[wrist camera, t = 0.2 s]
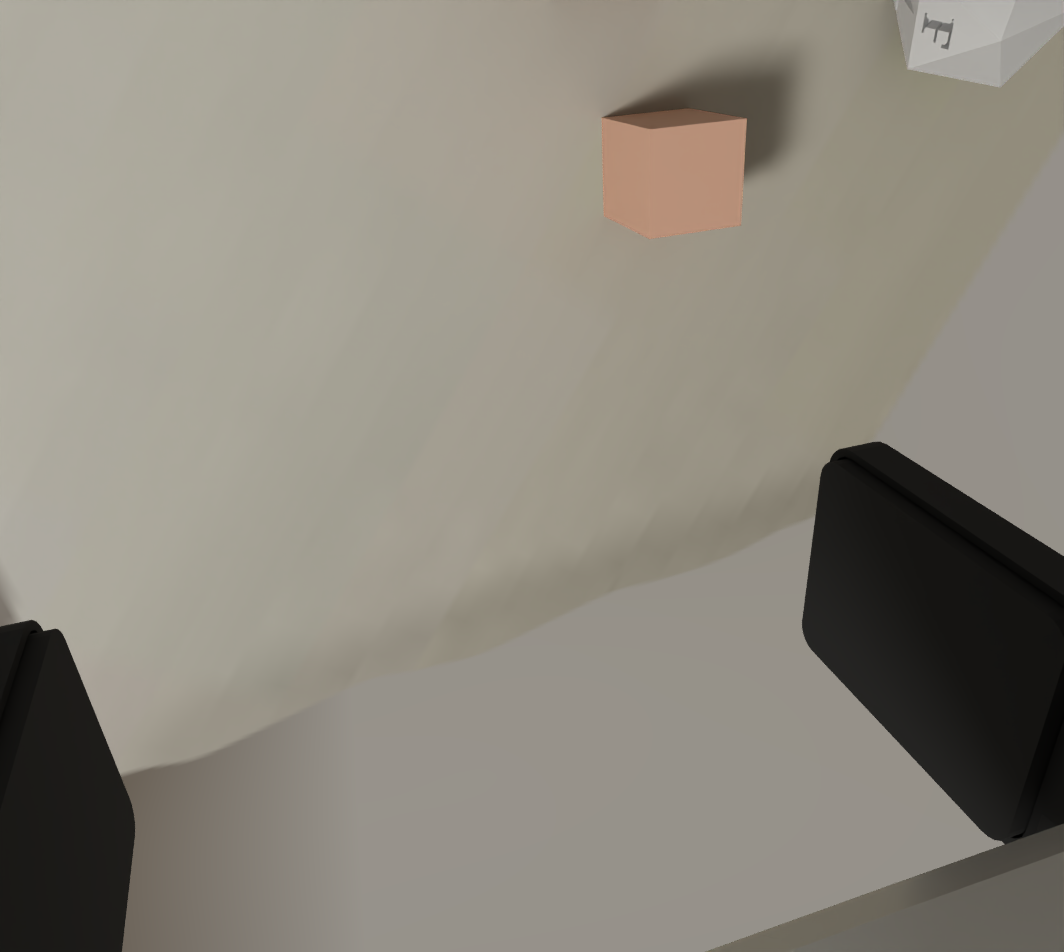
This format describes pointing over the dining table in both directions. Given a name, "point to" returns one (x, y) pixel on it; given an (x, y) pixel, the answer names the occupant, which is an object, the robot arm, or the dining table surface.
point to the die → (975, 35)
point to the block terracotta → (673, 171)
